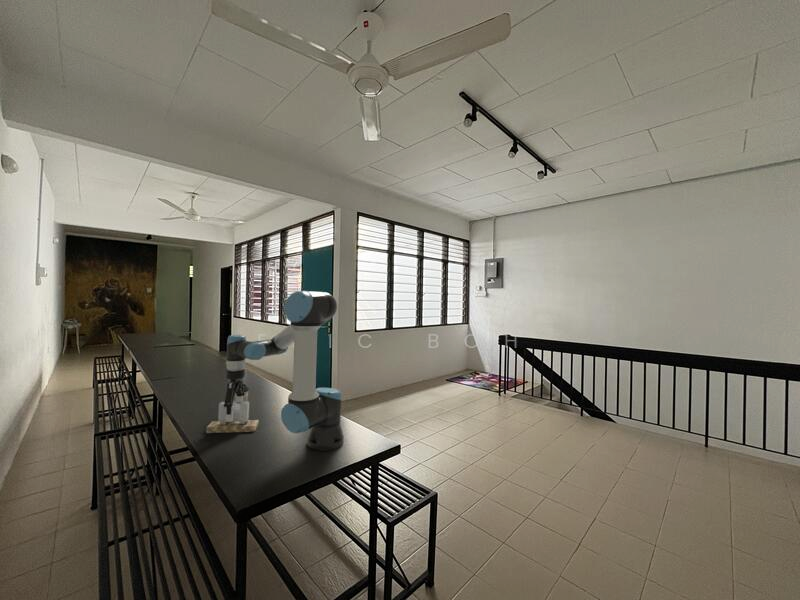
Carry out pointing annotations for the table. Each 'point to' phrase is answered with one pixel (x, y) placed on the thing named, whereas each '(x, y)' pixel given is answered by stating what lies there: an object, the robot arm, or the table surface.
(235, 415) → the grey flat block
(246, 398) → the coffee cup
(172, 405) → the table surface
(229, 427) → the wooden ladder frame
